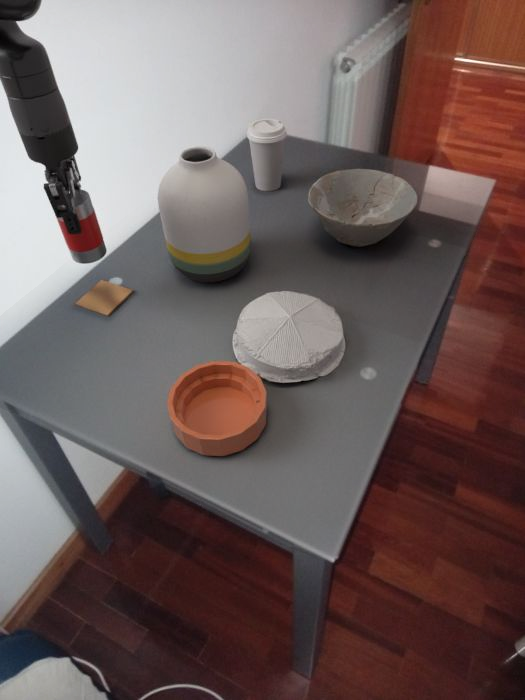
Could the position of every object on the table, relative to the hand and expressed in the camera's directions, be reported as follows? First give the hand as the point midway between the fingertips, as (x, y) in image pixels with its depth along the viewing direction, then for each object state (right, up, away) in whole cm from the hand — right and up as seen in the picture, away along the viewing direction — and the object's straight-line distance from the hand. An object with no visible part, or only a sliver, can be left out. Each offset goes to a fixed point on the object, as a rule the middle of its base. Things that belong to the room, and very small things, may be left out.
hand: (77, 221), depth 84 cm
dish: (+25, -33, -8) cm, 42 cm away
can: (0, -4, +5) cm, 7 cm away
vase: (+21, -4, +19) cm, 29 cm away
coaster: (+1, -12, +13) cm, 17 cm away
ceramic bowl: (+53, +4, +25) cm, 59 cm away
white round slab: (+36, -21, +3) cm, 42 cm away
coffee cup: (+33, +20, +41) cm, 57 cm away
